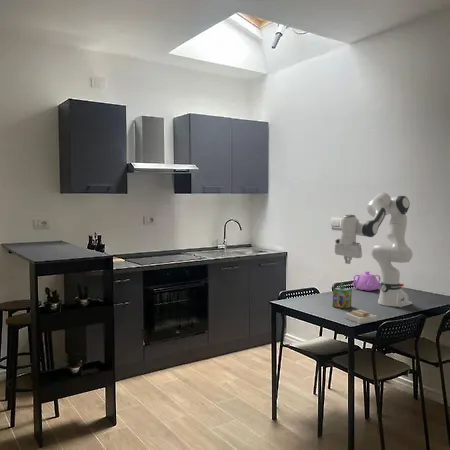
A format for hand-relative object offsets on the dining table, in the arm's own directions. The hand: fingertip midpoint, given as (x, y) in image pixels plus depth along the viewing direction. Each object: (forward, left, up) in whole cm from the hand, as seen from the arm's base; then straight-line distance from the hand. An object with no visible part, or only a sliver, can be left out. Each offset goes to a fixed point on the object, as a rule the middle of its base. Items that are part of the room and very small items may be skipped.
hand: (347, 263), depth 282 cm
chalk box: (-4, -8, -29) cm, 31 cm away
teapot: (-58, -39, -29) cm, 76 cm away
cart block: (+8, +20, -29) cm, 37 cm away
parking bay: (+8, +20, -29) cm, 36 cm away
